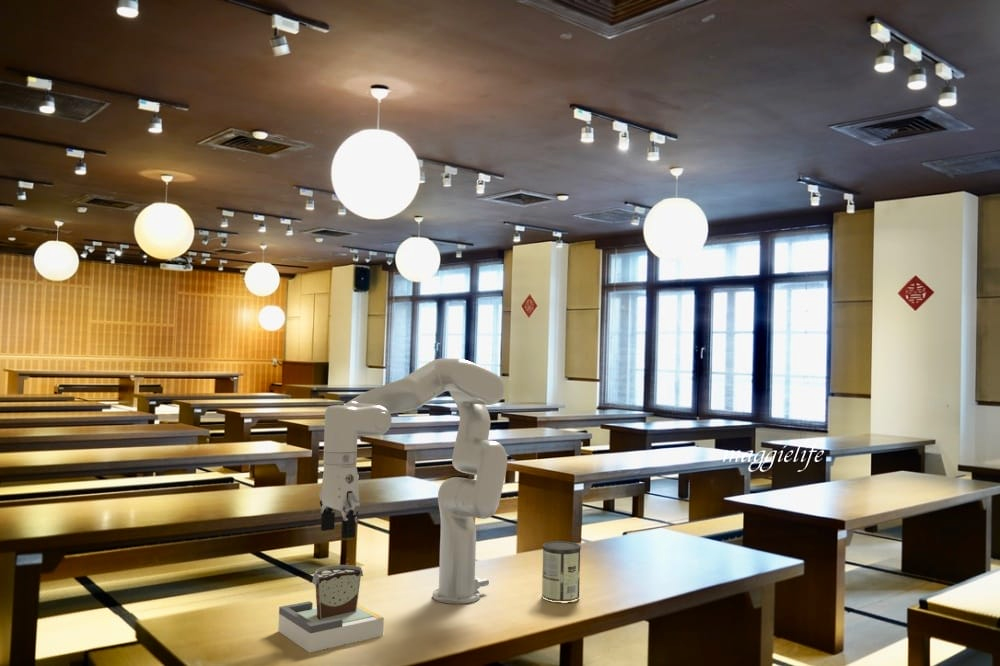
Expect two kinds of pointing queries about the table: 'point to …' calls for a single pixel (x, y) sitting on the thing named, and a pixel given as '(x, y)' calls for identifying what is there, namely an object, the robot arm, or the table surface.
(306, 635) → the loading dock
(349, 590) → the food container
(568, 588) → the coffee can
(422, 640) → the table surface
